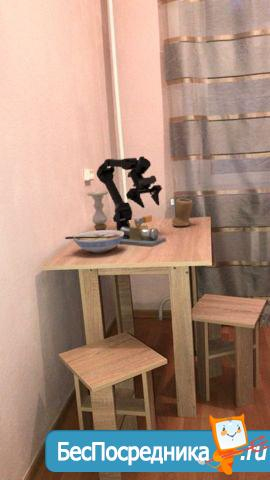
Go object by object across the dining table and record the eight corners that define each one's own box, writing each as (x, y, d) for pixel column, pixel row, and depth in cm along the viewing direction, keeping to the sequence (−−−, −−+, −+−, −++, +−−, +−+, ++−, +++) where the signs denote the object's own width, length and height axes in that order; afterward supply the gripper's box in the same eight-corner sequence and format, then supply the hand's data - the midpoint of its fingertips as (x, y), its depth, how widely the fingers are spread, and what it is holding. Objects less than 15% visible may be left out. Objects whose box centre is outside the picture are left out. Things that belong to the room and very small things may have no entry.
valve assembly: (113, 243, 202) (111, 225, 201) (127, 238, 212) (126, 221, 210) (152, 246, 190) (151, 228, 188) (165, 241, 200) (164, 223, 198)
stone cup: (194, 227, 230) (193, 199, 226) (172, 228, 231) (170, 200, 228) (192, 222, 244) (191, 196, 241) (172, 223, 245) (170, 197, 242)
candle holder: (109, 237, 218) (105, 190, 214) (115, 240, 208) (111, 192, 203) (88, 239, 215) (84, 192, 210) (93, 243, 205) (88, 194, 200)
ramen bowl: (133, 244, 196) (131, 227, 195) (120, 257, 175) (119, 238, 173) (82, 245, 202) (80, 229, 201) (63, 258, 180) (61, 239, 179)
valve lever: (139, 225, 197) (138, 219, 197) (133, 225, 199) (133, 219, 198) (153, 221, 207) (152, 215, 206) (147, 220, 209) (147, 215, 208)
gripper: (130, 171, 198) (143, 199, 194) (160, 168, 209) (174, 195, 204) (120, 185, 207) (133, 212, 202) (150, 181, 218) (162, 207, 213)
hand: (151, 206), depth 205 cm, fingers open, 9 cm apart
